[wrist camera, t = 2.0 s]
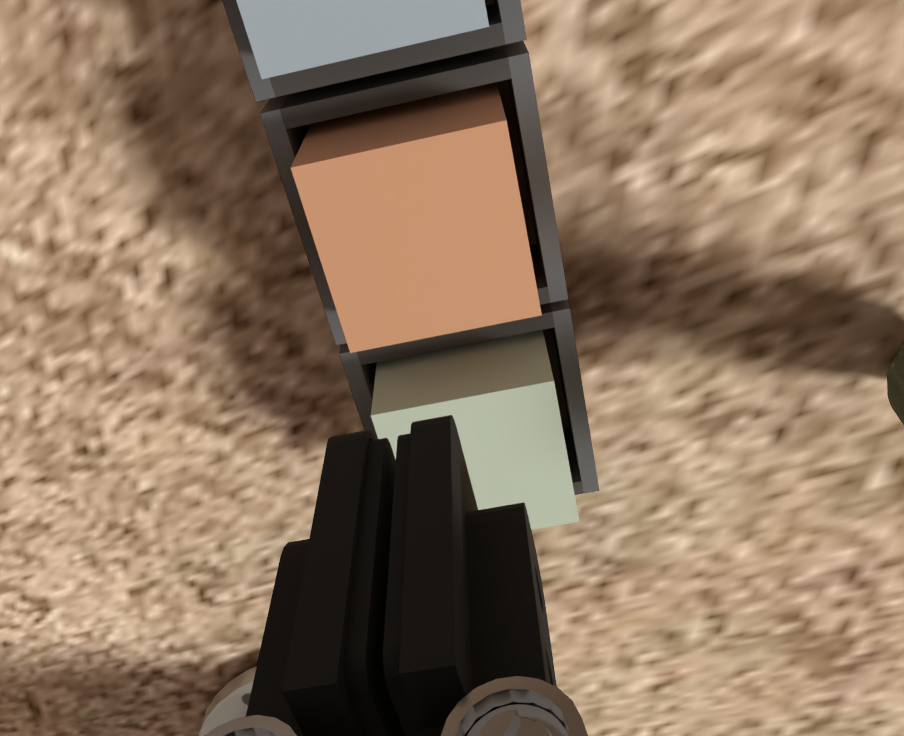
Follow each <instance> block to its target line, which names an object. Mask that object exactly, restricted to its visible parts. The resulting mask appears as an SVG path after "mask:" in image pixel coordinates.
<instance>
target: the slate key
mask: <svg viewBox="0 0 904 736" xmlns="http://www.w3.org/2000/svg"><path fill="white" fill-rule="evenodd" d="M236 1H237V4H238V7H239V10H240V13H241V17H242V20H243V23H244V26H245V29H246V32H247V35H248V38H249V41H250V44H251V48H252V51H253V54H254V57H255V60H256V63H257V66H258V69H259V72H260V75H261V79H265V78H270V77H274V76H278V75H283V74H287V73H291V72H296V71H300V70H304V69H309V68H313V67H317V66H322V65H326V64H330V63H335V62H339V61H343V60H348V59H352V58H356V57H361V56H365V55H369V54H374V53H378V52H382V51H386V50H391V49H395V48H399V47H404V46H408V45H412V44H417V43H421V42H425V41H430V40H434V39H438V38H443V37H447V36H451V35H456V34H460V33H464V32H469V31H473V30H477V29H482V28H486V27H489V23H488V17H487V11H486V6H485V0H236Z"/></svg>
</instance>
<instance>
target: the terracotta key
mask: <svg viewBox="0 0 904 736" xmlns="http://www.w3.org/2000/svg"><path fill="white" fill-rule="evenodd" d="M291 171H292V174H293V177H294V180H295V183H296V186H297V189H298V192H299V196H300V199H301V202H302V205H303V208H304V211H305V214H306V217H307V220H308V223H309V227H310V230H311V233H312V236H313V239H314V242H315V245H316V248H317V251H318V254H319V258H320V261H321V264H322V267H323V270H324V273H325V276H326V279H327V282H328V285H329V289H330V292H331V295H332V298H333V301H334V304H335V307H336V310H337V313H338V317H339V320H340V323H341V326H342V329H343V332H344V335H345V338H346V341H347V344H348V348H349V351H350V353H353V352H358V351H363V350H368V349H373V348H378V347H384V346H389V345H394V344H399V343H404V342H409V341H414V340H419V339H424V338H429V337H434V336H439V335H444V334H450V333H455V332H460V331H465V330H470V329H475V328H480V327H485V326H490V325H495V324H500V323H505V322H510V321H515V320H521V319H526V318H531V317H536V316H541V315H542V313H541V308H540V302H539V297H538V291H537V286H536V280H535V275H534V269H533V264H532V258H531V253H530V247H529V241H528V236H527V230H526V225H525V219H524V214H523V208H522V203H521V197H520V192H519V186H518V181H517V175H516V170H515V164H514V159H513V153H512V148H511V142H510V137H509V131H508V126H507V120H506V116H505V113H504V109H503V105H502V101H501V98H500V94H499V90H498V86H497V83H496V82H494V83H490V84H485V85H481V86H476V87H472V88H467V89H463V90H459V91H454V92H450V93H445V94H441V95H436V96H432V97H427V98H423V99H419V100H414V101H410V102H405V103H401V104H396V105H392V106H387V107H383V108H379V109H374V110H370V111H365V112H361V113H356V114H352V115H347V116H343V117H338V118H334V119H330V120H325V121H321V122H316V123H312V124H311V125H310V127H309V129H308V131H307V134H306V136H305V138H304V140H303V142H302V144H301V146H300V149H299V151H298V153H297V155H296V157H295V159H294V162H293V164H292V166H291Z"/></svg>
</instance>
